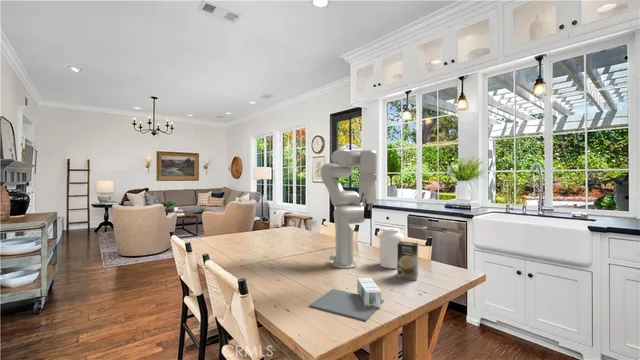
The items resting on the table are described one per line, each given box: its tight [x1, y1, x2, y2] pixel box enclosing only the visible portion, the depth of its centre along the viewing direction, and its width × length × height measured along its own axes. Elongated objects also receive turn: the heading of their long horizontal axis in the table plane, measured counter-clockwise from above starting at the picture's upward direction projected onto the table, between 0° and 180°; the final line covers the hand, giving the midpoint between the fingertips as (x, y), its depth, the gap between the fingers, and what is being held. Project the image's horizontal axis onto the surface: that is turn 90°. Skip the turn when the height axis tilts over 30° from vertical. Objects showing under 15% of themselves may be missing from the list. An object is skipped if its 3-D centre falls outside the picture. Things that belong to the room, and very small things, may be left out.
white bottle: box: [379, 226, 405, 270], centre depth 157 cm, size 12×12×20 cm
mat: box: [309, 288, 385, 322], centre depth 110 cm, size 22×18×1 cm
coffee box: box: [396, 241, 419, 281], centre depth 139 cm, size 9×6×16 cm
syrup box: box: [356, 277, 382, 308], centre depth 113 cm, size 6×6×14 cm
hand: (367, 218), depth 133 cm, fingers closed
